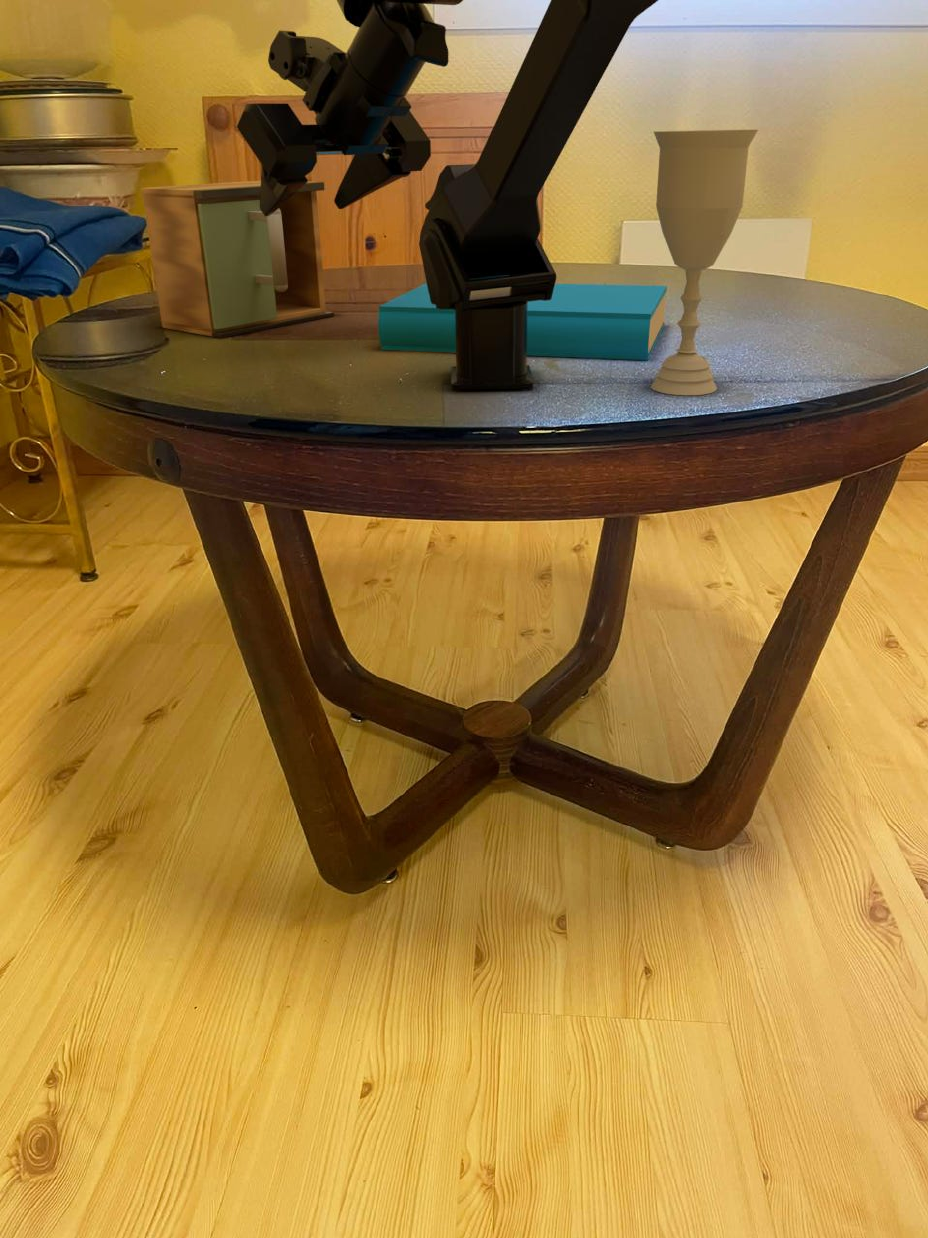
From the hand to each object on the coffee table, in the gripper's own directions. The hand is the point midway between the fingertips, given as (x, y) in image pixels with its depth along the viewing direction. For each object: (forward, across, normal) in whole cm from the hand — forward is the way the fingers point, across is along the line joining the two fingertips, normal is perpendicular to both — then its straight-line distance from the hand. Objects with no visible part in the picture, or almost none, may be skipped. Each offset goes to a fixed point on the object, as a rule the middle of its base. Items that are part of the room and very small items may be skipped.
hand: (302, 208), depth 92 cm
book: (-4, -12, +21) cm, 25 cm away
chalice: (-20, -3, +36) cm, 42 cm away
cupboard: (+18, -2, -1) cm, 18 cm away
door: (+12, +2, +4) cm, 13 cm away
